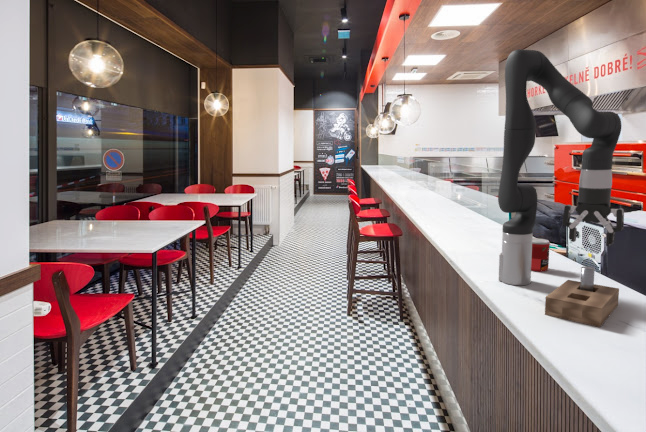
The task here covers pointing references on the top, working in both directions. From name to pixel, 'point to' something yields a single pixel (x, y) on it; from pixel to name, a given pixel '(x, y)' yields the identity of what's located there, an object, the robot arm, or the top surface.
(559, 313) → the hole block
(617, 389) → the top surface
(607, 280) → the top surface
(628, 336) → the top surface
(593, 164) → the robot arm
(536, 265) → the canned food
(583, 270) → the pin
